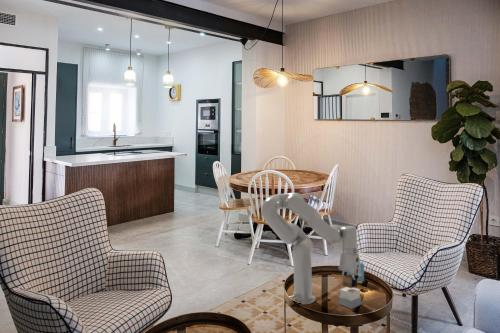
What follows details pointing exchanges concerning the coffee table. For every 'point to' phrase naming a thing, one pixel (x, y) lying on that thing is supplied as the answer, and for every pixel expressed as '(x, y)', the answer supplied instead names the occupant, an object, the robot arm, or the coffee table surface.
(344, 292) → the tower top
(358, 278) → the data package
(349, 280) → the walnut cube
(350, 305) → the tower base
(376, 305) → the coffee table surface
